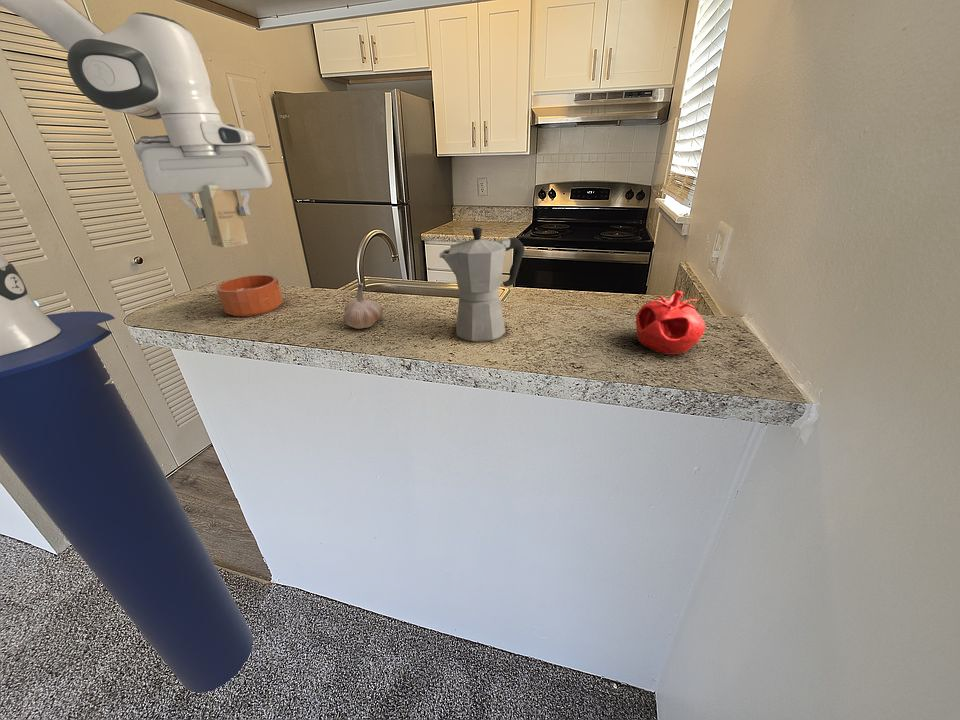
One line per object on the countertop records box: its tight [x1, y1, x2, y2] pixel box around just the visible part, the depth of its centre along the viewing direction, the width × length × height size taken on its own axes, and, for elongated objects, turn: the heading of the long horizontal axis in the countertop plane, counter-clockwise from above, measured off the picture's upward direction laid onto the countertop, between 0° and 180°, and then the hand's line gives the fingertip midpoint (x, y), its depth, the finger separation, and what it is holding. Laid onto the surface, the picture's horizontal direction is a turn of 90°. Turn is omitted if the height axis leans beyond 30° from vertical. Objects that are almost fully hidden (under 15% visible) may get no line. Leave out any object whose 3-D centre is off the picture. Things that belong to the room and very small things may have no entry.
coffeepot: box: [438, 226, 525, 343], centre depth 68 cm, size 15×9×18 cm, turn 117°
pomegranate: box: [635, 290, 706, 355], centre depth 63 cm, size 10×10×9 cm
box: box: [197, 185, 249, 249], centre depth 77 cm, size 5×4×11 cm
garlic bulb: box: [343, 282, 384, 330], centre depth 75 cm, size 8×7×8 cm
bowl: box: [215, 274, 284, 317], centre depth 85 cm, size 11×11×6 cm
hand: (224, 216), depth 77 cm, fingers closed on box, 6 cm apart
